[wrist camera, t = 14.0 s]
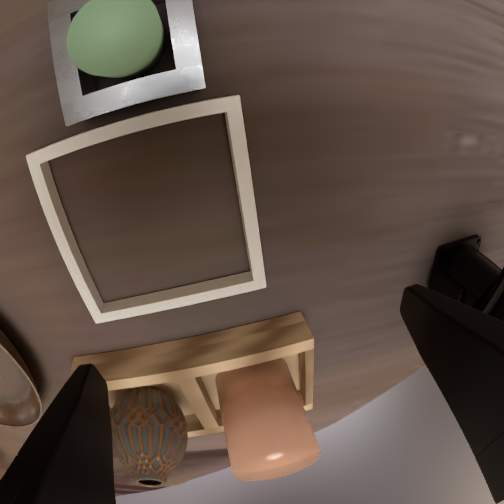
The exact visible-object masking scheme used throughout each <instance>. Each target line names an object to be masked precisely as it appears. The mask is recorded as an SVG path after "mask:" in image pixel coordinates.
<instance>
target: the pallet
mask: <svg viewBox="0 0 504 504" xmlns="http://www.w3.org/2000/svg"><path fill="white" fill-rule="evenodd" d="M279 358H282V359H284V360H285V362H286V363H287V365H288V368H289V370H290V373H291V376H292V378H293V381H294V383H295V386H296V389H297V391H298V394H299V396H300V399H301V402H302V404H303V407H304V409H305V411H307V410H311V409H312V404H313V373H314V337H313V335H312V333H311V331H310V329H309V327H308V325H307V323H306V321H305V319H304V317H303V315H302V313H301V311H299V312H296V313H292V314H288V315H284V316H280V317H276V318H272V319H268V320H264V321H260V322H256V323H252V324H248V325H244V326H239V327H235V328H231V329H226V330H222V331H217V332H213V333H208V334H203V335H199V336H194V337H189V338H184V339H179V340H174V341H169V342H164V343H158V344H153V345H147V346H142V347H136V348H130V349H124V350H118V351H112V352H106V353H99V354H92V355H85V356H78V357H74V359H73V363H72V367H71V371H70V376H71V375H72V374H73V372H74V371H75V370H76V368H77V367H78V366H79V365H81V364H88V363H92V364H93V365H95V367H96V368H97V369H98V371H99V372H100V374H101V375H102V376H103V378H104V379H105V381H106V383H107V386H108V396H109V408H110V412H111V409H112V407H113V405H114V403H115V402H116V400H117V399H118V398H119V397H120V396H121V395H122V394H123V393H125V392H126V391H128V390H130V389H132V388H135V387H142V386H146V387H153V388H157V389H159V390H162V391H163V392H165V393H167V394H168V395H169V396H171V397H172V398H173V399H174V400H175V401H176V402H177V403H178V405H179V407H180V408H181V410H182V412H183V414H184V417H185V420H186V424H187V432H188V437H194V436H200V435H206V434H212V433H217V432H223V431H224V427H223V422H222V417H221V411H220V406H219V400H218V394H217V388H216V382H215V379H216V375H217V373H220V372H224V371H229V370H234V369H238V368H242V367H247V366H251V365H255V364H259V363H263V362H267V361H271V360H275V359H279ZM70 376H69V378H70Z"/></svg>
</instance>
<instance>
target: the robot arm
mask: <svg viewBox="0 0 504 504" xmlns="http://www.w3.org/2000/svg"><path fill="white" fill-rule="evenodd" d="M480 242H481V237H480V236H478V235H476V236H473V237H469V238H466V239H463V240H460V241H457V242H454V243H451V244H448V245H444V246H441V247H440V248H439V249H438V251H437V255H436V260H435V265H434V269H433V274H432V278H431V282H430V286H429V289H428V288H426V287H424V286H421V285H419V284H414V285H411V286H408V287H406V288H405V289H404V292H403V296H402V301H401V306H400V313H401V316H402V318H403V320H404V322H405V324H406V326H407V329H408V331H409V333H410V335H411V337H412V339H413V341H414V343H415V345H416V347H417V350H418V352H419V354H420V356H421V357H422V359H423V361H424V363H425V364H426V366H427V368H428V369H429V371H430V373H431V375H432V376H433V378H434V380H435V381H436V383H437V385H438V387H439V389H440V390H441V392H442V394H443V396H444V398H445V399H446V401H447V403H448V405H449V407H450V409H451V410H452V412H453V414H454V416H455V418H456V420H457V422H458V424H459V426H460V428H461V429H462V431H463V433H464V435H465V437H466V439H467V441H468V443H469V445H470V448H471V449H472V452H473V454H474V456H475V458H476V460H477V463H478V465H479V467H480V469H481V471H482V473H483V476H484V478H485V480H486V483H487V485H488V487H489V489H490V492H491V494H492V497H493V499H494V501H495V503H496V504H497V503H499V502H501V501H502V500H504V267H503V269H500V268H499V267H498V266H497V265H496V264H494V263H493V262H492V261H491V260H489V259H488V258H487V257H486V256H484V255H483V254H482V253H481V252H479V251H478V250H479V246H480ZM0 504H116V500H115V487H114V471H113V442H112V427H111V418H110V408H109V396H108V386H107V383H106V381H105V379H104V378H103V376H102V375H101V374H100V372H99V371H98V369H97V368H96V367H95V365H93V364H92V363H88V364H81V365H79V366H78V367H77V368H76V370H75V371H74V372H73V374H72V375H71V376H70V378H69V379H68V380H67V382H66V383H65V385H64V386H63V387H62V389H61V390H60V392H59V393H58V394H57V396H56V397H55V399H54V400H53V401H52V403H51V404H50V406H49V407H48V409H47V410H46V412H45V413H44V414H43V416H42V417H41V419H40V420H39V422H38V423H37V425H36V426H35V428H34V429H33V431H32V432H31V434H30V435H29V437H28V438H27V440H26V441H25V443H24V444H23V446H22V448H21V449H20V451H19V452H18V456H16V457H15V458H14V460H13V462H12V463H11V465H10V466H9V468H8V469H7V471H6V473H5V474H4V476H3V477H2V479H1V480H0Z"/></svg>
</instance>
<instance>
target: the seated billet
mask: <svg viewBox="0 0 504 504" xmlns="http://www.w3.org/2000/svg"><path fill="white" fill-rule="evenodd" d="M215 382H216V388H217V394H218V400H219V406H220V411H221V417H222V422H223V427H224V433H225V438H226V443H227V448H228V453H229V458H230V462H231V467H232V472H233V475H234V477H236V478H237V479H241V480H246V481H262V480H270V479H274V478H279V477H283V476H286V475H290V474H292V473H295V472H297V471H300V470H302V469H304V468H306V467H308V466H309V465H311V464H312V463H314V462H315V461H316V460H317V459H318V458H319V457H320V455H321V451H320V448H319V446H318V443H317V440H316V438H315V435H314V433H313V430H312V427H311V425H310V422H309V420H308V417H307V415H306V412H305V409H304V407H303V404H302V402H301V399H300V396H299V394H298V391H297V389H296V386H295V383H294V381H293V378H292V376H291V373H290V370H289V368H288V365H287V363H286V362H285V360H284V359H282V358H279V359H275V360H271V361H267V362H263V363H259V364H255V365H251V366H247V367H242V368H238V369H234V370H229V371H224V372H220V373H217V375H216V379H215Z"/></svg>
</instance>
